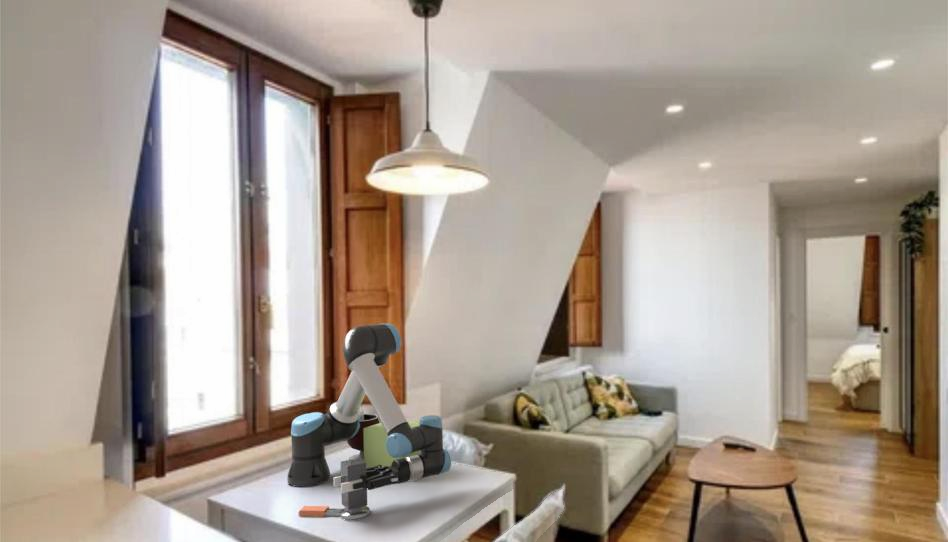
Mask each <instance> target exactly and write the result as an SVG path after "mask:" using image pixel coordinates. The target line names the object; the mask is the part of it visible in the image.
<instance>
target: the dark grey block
mask: <svg viewBox="0 0 948 542" xmlns="http://www.w3.org/2000/svg"><path fill="white" fill-rule="evenodd" d="M340 476H341V483H346V482H350V481H354V480H359V479H362V482H363V477H365V478H366V479H367V473H366V462H365V461H363V460H362V459H360V458H356V459H351V460H348V459H346V460H342V461H340ZM340 494H341V505H342V506H344V508H347V509H348V510H351V509H355V508H359V507H363V506H368V488H367V489H364V488H363V489H358V490H354V491H350V492H346V493H341V492H340Z"/></svg>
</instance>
